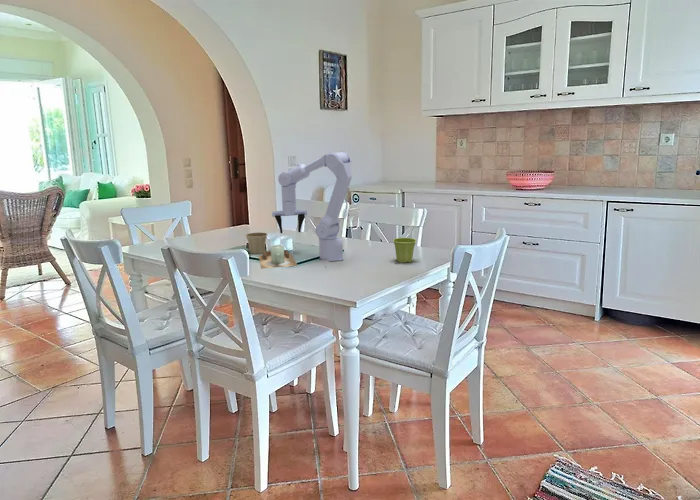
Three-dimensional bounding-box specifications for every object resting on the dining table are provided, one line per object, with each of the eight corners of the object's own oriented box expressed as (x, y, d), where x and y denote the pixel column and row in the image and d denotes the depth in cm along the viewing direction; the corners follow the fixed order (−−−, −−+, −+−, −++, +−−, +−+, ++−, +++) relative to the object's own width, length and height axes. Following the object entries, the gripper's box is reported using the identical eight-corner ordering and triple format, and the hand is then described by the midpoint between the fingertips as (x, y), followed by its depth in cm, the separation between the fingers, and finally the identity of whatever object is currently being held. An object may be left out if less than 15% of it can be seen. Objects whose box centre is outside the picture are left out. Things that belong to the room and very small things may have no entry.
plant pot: (419, 259, 210) (419, 238, 208) (412, 264, 202) (412, 243, 200) (397, 257, 214) (397, 237, 212) (389, 262, 206) (389, 241, 204)
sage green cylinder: (284, 260, 208) (283, 244, 207) (285, 265, 201) (284, 249, 199) (271, 261, 207) (270, 245, 206) (272, 266, 200) (271, 249, 198)
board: (291, 255, 222) (291, 249, 221) (297, 267, 201) (297, 261, 200) (258, 257, 219) (258, 251, 218) (261, 270, 198) (260, 263, 198)
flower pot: (272, 254, 224) (271, 234, 223) (252, 257, 219) (250, 237, 217) (263, 250, 232) (261, 231, 230) (243, 253, 227) (242, 234, 225)
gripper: (304, 198, 222) (306, 229, 225) (270, 200, 219) (272, 231, 222) (307, 200, 215) (308, 232, 218) (272, 202, 212) (273, 234, 215)
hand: (290, 232), depth 220 cm, fingers open, 7 cm apart
